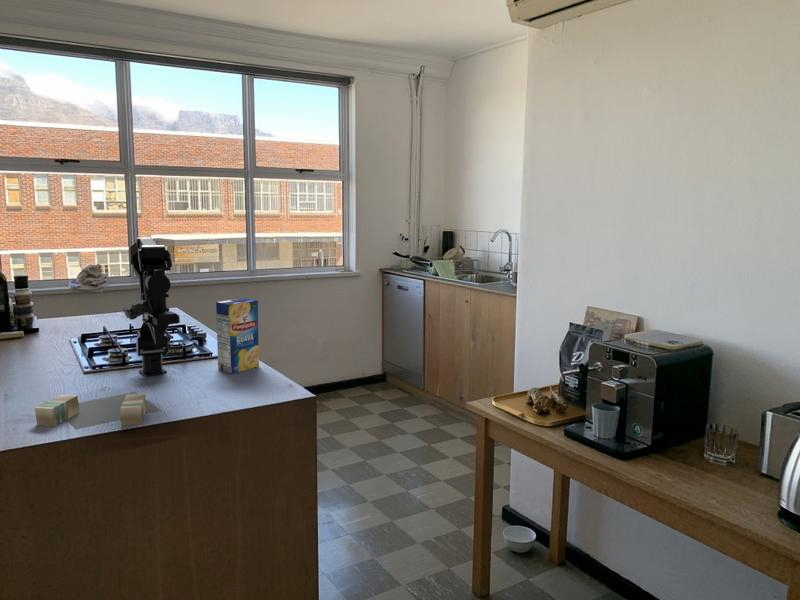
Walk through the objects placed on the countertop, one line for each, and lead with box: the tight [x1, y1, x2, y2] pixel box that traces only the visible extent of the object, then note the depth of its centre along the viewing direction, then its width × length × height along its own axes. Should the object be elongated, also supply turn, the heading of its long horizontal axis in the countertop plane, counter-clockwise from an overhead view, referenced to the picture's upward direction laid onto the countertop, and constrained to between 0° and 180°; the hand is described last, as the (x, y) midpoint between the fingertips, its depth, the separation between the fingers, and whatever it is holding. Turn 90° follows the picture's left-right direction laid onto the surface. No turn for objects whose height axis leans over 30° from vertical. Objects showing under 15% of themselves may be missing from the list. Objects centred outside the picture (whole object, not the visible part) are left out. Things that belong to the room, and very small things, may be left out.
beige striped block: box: [34, 394, 80, 427], centre depth 148 cm, size 5×5×9 cm
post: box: [120, 393, 147, 426], centre depth 150 cm, size 5×5×9 cm
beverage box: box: [215, 297, 260, 375], centre depth 193 cm, size 7×11×22 cm, turn 142°
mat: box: [66, 391, 162, 430], centre depth 156 cm, size 19×20×1 cm
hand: (157, 344), depth 172 cm, fingers closed
